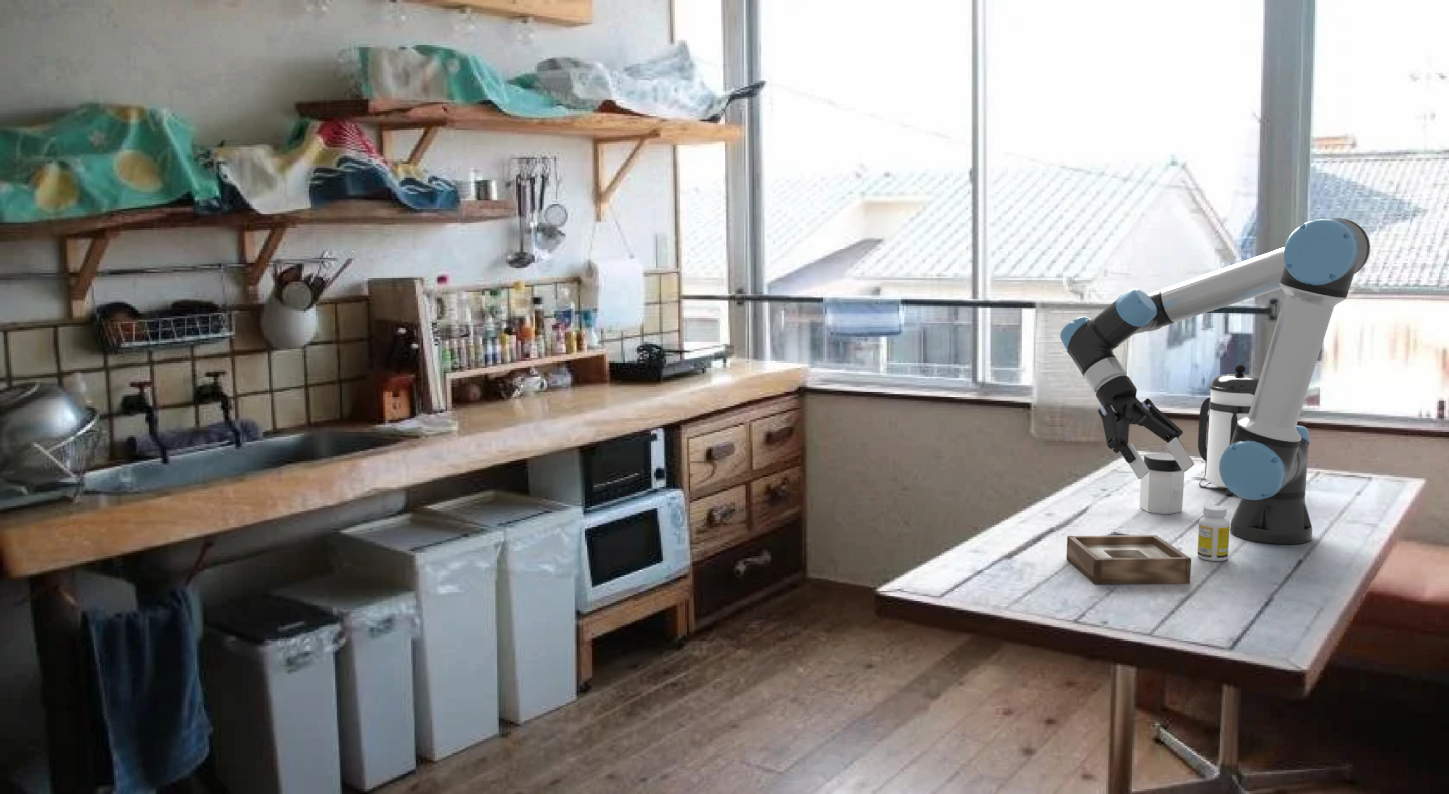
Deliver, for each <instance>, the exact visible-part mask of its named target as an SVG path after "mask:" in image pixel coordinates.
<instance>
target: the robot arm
mask: <svg viewBox="0 0 1449 794" xmlns="http://www.w3.org/2000/svg"><path fill="white" fill-rule="evenodd" d="M1370 253H1371V242H1370V239H1369V236H1368V234H1367V233H1366V231H1365V230H1364V228H1363V227H1362V226H1360V225H1359V224H1358V223H1357V222H1355V221H1353V220H1350V219H1346V218H1339V217H1332V218H1331V217H1317V218H1313V219H1310V220H1309V221H1306V222H1304V223H1302V224H1301V225H1300V226H1298V227H1297V228H1295V229H1294V231H1292V233H1291V234H1290V235H1289V237H1288V238H1287V240H1286V242H1285V244H1284V247H1281V248H1278V249H1275V250H1273V251H1269V252H1266V253H1264V254H1261V255H1258V256H1255V257H1252V258H1249V259H1246V260H1243V261H1240V262H1238V263H1235V264H1231V265H1228V266H1226V267H1223V268H1220V269H1217V270H1214V271H1211V272H1208V273H1205V274H1202V275H1200V276H1197V277H1193V278H1190V279H1188V280H1186V281H1182V282H1180V283H1176V284H1173V285H1170V286H1168V287H1167V286H1166V287H1164V288H1162V289H1160V290H1159V289H1158V290H1156V291H1153V292H1150V293H1146V292H1145V291H1144V290H1142V289H1139V288H1137V287H1132V288H1130V289H1129V290H1127V291H1126V292H1124V293H1123V294H1121V295H1120V296H1118V297H1117V299H1116V300H1115V301H1113V302H1112V303H1111V304H1109V306H1107V307H1106V308H1105V309H1104V310H1102V312H1100V313H1099V314H1097V316H1096V317H1094V318H1093V319H1092V318H1090V317H1088V316H1080V317H1077V318H1074V320H1073V321H1069V322H1068V323H1067V324H1066V325H1064V327H1062V330H1061V331H1060V335H1059V338H1060V340H1061V342H1062V344H1063V346H1064V348H1065V349H1066V353H1067V354H1068V355H1069V356H1070V358H1071V359H1072V360H1073V362H1074V364H1075V365H1076V367H1077V368H1078V370H1079V371H1080V373H1081V375H1082V376H1083V378H1084V379H1085V381H1086V383H1087V384H1088V386H1089V388H1090V389H1091V390H1092V392H1093V393H1094V394H1095V397H1096V400H1098V402H1099V404H1100V405H1101V407H1100V408H1099V409H1098V410H1097V412H1098V415H1099V416H1100V418H1101V419H1102V420H1101V421H1102V424H1103V425H1102V426H1103V430H1104V435H1105V441H1106V444H1107V448H1109V449H1110V450H1112V451H1113V453H1115V454H1118V453H1119V452H1120V453H1121V455H1122V458H1123V459H1124V460H1125V462H1126V463H1128V465H1129V467H1130V469H1131V470H1132V471H1133V473H1134V474H1135V476H1136V478H1137V480H1141V478H1143V477H1144V476H1145V475H1146V474H1147V473H1148V472H1150V470H1149V469H1148V467H1147V466H1146V464H1145V463H1144V458H1142V456H1141V455H1140V453H1139V451H1138V450H1137V449H1136V447H1135V445H1134V444H1133V443H1129V429H1130V425H1137V426H1139V427H1144V428H1145V429H1147V430H1149V431H1150V432H1151V433H1153V434H1155V435H1156V436H1157V437H1159V438H1160V439H1161V440H1163V441H1165V442H1166V443H1167V444H1166V445H1165V446H1166V447H1167V449H1168V451H1169V452H1170V454H1172V455H1173V457H1174V458H1175V460H1176V461H1177V463H1178V465H1179V466H1180V468H1181V469H1182V471H1183V472H1184V473H1185V472H1187V471H1188V470H1190V469H1191V468H1192V467H1193V466H1195V462H1194V461H1193V459H1192V457H1190V455H1189V454H1188V451H1187V450H1186V448H1185V447H1184V445H1183V443H1182V442H1181V440H1180V438H1179V437H1180V436H1182V435H1183V434H1184V432H1183V430H1182V429H1181V428H1180V427H1179V426H1178V425H1177V424H1175V423H1174V422H1173V421H1172V420H1171V419H1170V418H1168V417H1167V415H1165V414H1164V413H1163V412H1162V411H1161V410H1160V409H1159V408H1158V407H1156V405H1155V404H1154V403H1153V401H1152V400H1151V399H1150V398H1146V399H1145V400H1143V401H1140V400H1139V399H1138V398H1137V392H1138V390H1137V387H1136V385H1135V384H1134V383H1133V381H1132V380H1131V378H1130V376H1128V375H1127V372H1126V369H1124V367H1123V365H1122V364H1121V363H1120V361H1119V360H1118V358H1117V356H1116V355H1115V354H1114V350H1115V349H1116V348H1118V347H1119V346H1120V345H1121V344H1123V343H1124V342H1125V341H1126V340H1128V339H1129V338H1131V337H1132V336H1134V335H1137V334H1141V333H1142V334H1143V333H1146V332H1153V331H1157V330H1160V329H1161V328H1163V327H1166V326H1169V325H1173V324H1175V323H1178V322H1181V321H1183V320H1187V319H1190V318H1193V317H1197V316H1200V315H1203V314H1206V313H1209V312H1213V311H1215V310H1216V311H1217V310H1218V309H1223V308H1225V307H1228V306H1230V305H1235V304H1237V303H1241V302H1244V301H1246V300H1250V299H1254V298H1256V297H1259V296H1263V295H1265V294H1268V293H1272V292H1275V291H1278V290H1282V291H1283V293H1284V296H1283V300H1282V304H1281V307H1280V311H1279V314H1278V317H1277V320H1276V324H1275V327H1274V331H1273V334H1272V337H1271V340H1270V344H1269V347H1268V349H1267V354H1266V356H1265V359H1264V362H1263V367H1262V370H1261V373H1260V375H1259V377H1260V379H1259V382H1258V385H1257V389H1256V392H1255V395H1254V398H1253V402H1252V405H1251V408H1250V411H1249V414H1248V415H1247V416H1246V417H1244V418H1242V419H1240V420H1238V422H1237V425H1236V428H1235V431H1234V435H1233V438H1232V441H1231V444H1230V446H1229V447H1227V449H1226V450H1225V451H1224V453H1223V454H1222V457H1221V459H1220V463H1219V472H1220V476H1221V479H1222V481H1223V482H1224V484H1225V486H1226V487H1227V488H1228V489H1229V490H1230V491H1231V492H1232V493H1233V495H1236V496H1237V497H1239V498H1240V499H1239V502H1238V504H1237V507H1236V509H1235V510H1234V513H1233V515H1232V518H1231V521H1230V529H1229V532H1231V534H1233V535H1234V536H1237V537H1238V538H1241V539H1244V540H1245V539H1246V540H1250V541H1253V542H1259V543H1266V544H1267V543H1268V544H1277V545H1279V544H1280V545H1297V544H1304V543H1308V542H1310V541H1312V539H1313V526H1312V522H1311V520H1310V519H1311V518H1310V514H1309V511H1308V507H1307V504H1306V487H1307V486H1306V485H1307V474H1308V460H1309V446H1310V444H1311V440H1310V431H1309V429H1308V428H1307V427H1305V426H1304V425H1298V422H1299V418H1300V415H1301V412H1302V410H1303V406H1304V403H1305V399H1306V396H1307V394H1308V390H1309V388H1310V385H1311V380H1312V377H1313V374H1314V372H1315V368H1316V365H1317V362H1318V358H1319V356H1320V352H1321V349H1322V346H1323V343H1324V339H1325V337H1326V334H1327V330H1328V328H1329V325H1330V322H1331V319H1332V318H1331V317H1332V314H1333V311H1334V308H1335V306H1336V305H1338V304H1340V303H1341V302H1344V301H1345V300H1347V297H1348V294H1349V291H1350V288H1351V285H1352V282H1353V278H1354V276H1355V274H1357V273H1359V272H1360V271H1361V269H1362V268H1363V267H1364V266H1365V265H1366V263H1367V262H1368V259H1369V256H1370ZM1227 488H1226V489H1227Z"/></svg>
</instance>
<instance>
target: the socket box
mask: <svg viewBox="0 0 1449 794" xmlns="http://www.w3.org/2000/svg"><path fill="white" fill-rule="evenodd" d="M1066 537H1067V539H1066V557H1065V558H1066V560H1067V561H1068V562H1069V563H1070V564H1071V565H1072V566H1073V567H1074V568H1076V569H1077V570H1078V571H1079V572H1080V573H1081V574H1082V575H1083V576H1084V577H1085V578H1087V579H1088V580H1089V581H1090V582H1091V583H1092V584H1094V585H1095V586H1096V585H1163V584H1164V585H1173V584H1175V585H1176V584H1179V585H1180V584H1181V585H1182V584H1185V585H1186V584H1191V574H1192V573H1191V571H1192V558H1191V557H1190V556H1188V555H1187V554H1185V553H1184V552H1182V551H1180V550H1179V549H1177V548H1176V547H1174V546H1173V545H1171V544H1170V543H1169V542H1167V541H1165V540H1164V539H1163V538H1162V537H1159V536H1158V535H1156V534H1155V535H1154V534H1151V535H1149V534H1146V535H1145V534H1142V535H1141V534H1139V535H1135V534H1134V535H1129V534H1127V535H1067V536H1066Z"/></svg>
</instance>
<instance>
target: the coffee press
mask: <svg viewBox="0 0 1449 794" xmlns="http://www.w3.org/2000/svg"><path fill="white" fill-rule="evenodd" d="M1234 370H1235V373H1229V374H1228V373H1227V374H1221V375H1217V376H1216V377H1214V378H1213V379H1212V381H1211V384H1209V390H1210V397H1207V398H1206V399H1204V401H1202V403H1201V406H1200V409H1199V418H1198V419H1199V420H1198V435H1197V447H1198V453H1199V455H1200V457H1201V459H1202V460H1203V461H1205V469H1204V476H1203V478H1202V479H1201V480H1199V482H1198V483H1199V484H1198V486H1199V487H1200V488H1202V489H1203V488H1206V487H1207V486H1208V485H1213V486H1217V487H1220V488H1226V493H1225V494H1226V496H1229V497H1230V496H1231V497H1233V495H1234V493H1232V492H1231V491H1230V490H1229V489H1228V488H1227V487H1226V486H1225V484H1224V482H1223V481H1222V479H1221V476H1220V472H1219V463H1220V459H1221V457H1222V454H1223V453H1224V451H1225V450H1226V449H1227V447H1229V446H1230V444H1231V441H1232V438H1233V435H1234V431H1235V428H1236V425H1237V422H1238V420H1240V419H1242V418H1244V417H1246V416H1247V415H1248V414H1249V411H1250V408H1251V405H1252V402H1253V398H1254V395H1255V392H1256V389H1257V385H1258V382H1259V379H1260V376H1257V375H1254V374H1253V375H1252V374H1246V373H1245V374H1244V372H1245V371H1246V366H1245V365H1244V364H1242V363H1238V364H1236V365H1235V366H1234ZM1204 479H1206V481H1207V482H1208V483H1206V484H1205V485H1201V483H1202V481H1203V480H1204Z"/></svg>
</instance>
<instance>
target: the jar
mask: <svg viewBox="0 0 1449 794" xmlns="http://www.w3.org/2000/svg"><path fill="white" fill-rule="evenodd" d="M1143 461H1144V463H1145V464H1146V466H1147V467H1148V469H1149V470H1150V472H1148V473H1147V474H1146V475H1145V476H1144V477H1143V478H1141V479H1140V484H1139V485H1140V489H1139V492H1140V493H1139V506H1138V507H1139V508H1140V509H1141V510H1143V511H1145V512H1146V513H1152V514H1160V515H1161V514H1162V515H1168V516H1169V515H1172V514H1173V515H1174V514H1178V513H1182V512H1183V502H1184V501H1183V500H1184V487H1185V486H1184V484H1185V472H1183V471H1182V469H1181V468H1180V466H1179V465H1178V463H1177V461H1176V460H1175V458H1174V457H1173V455H1172V454H1171V453H1163V452H1154V453H1153V452H1151V453H1146V454H1144V455H1143Z"/></svg>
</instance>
